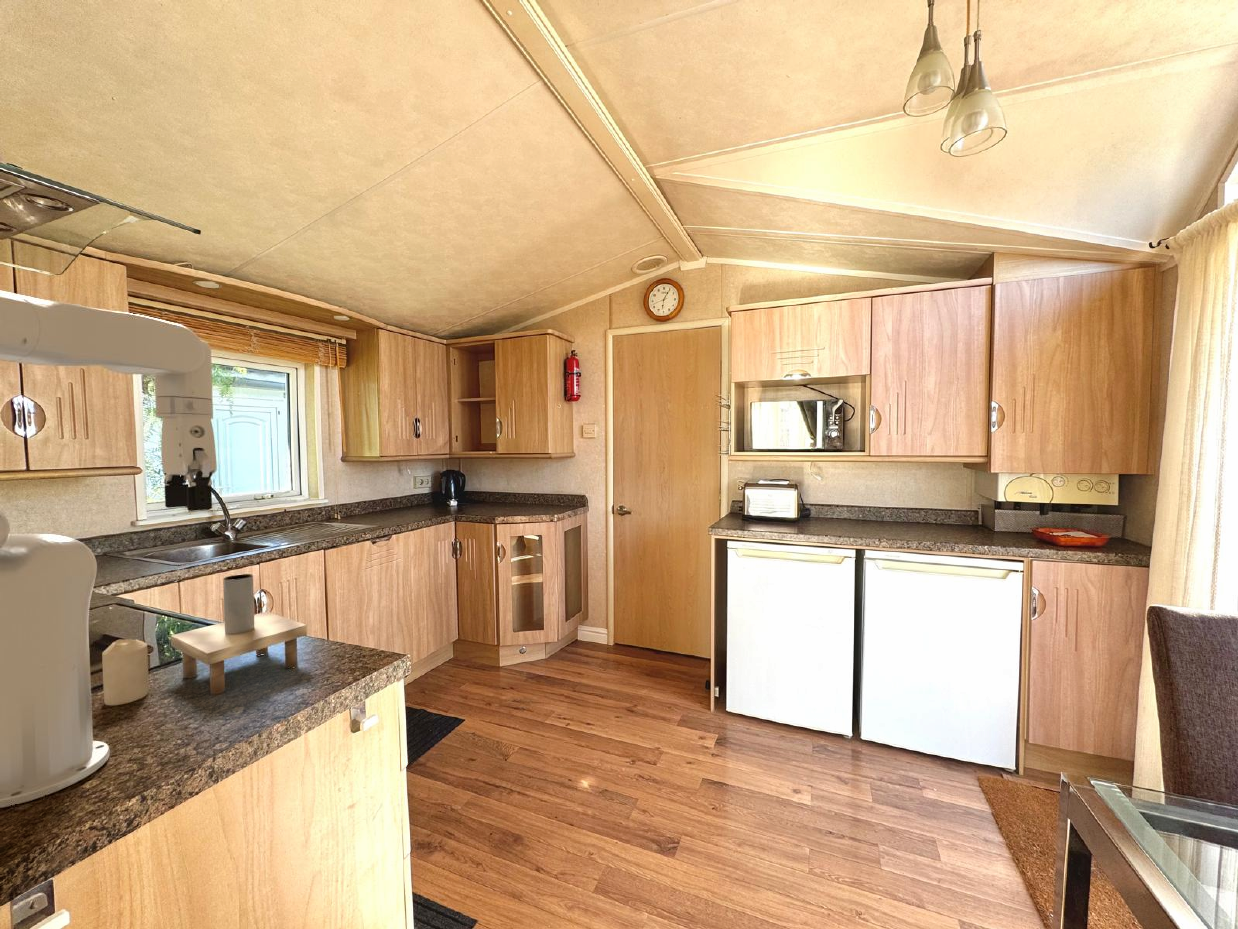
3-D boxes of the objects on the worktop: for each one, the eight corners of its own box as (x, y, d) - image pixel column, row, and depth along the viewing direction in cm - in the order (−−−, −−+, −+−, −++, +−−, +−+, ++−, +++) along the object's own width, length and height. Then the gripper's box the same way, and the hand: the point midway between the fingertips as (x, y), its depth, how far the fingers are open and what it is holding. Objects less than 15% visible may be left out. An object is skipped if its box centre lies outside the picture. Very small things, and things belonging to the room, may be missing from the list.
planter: (247, 624, 100) (246, 572, 99) (259, 628, 97) (257, 575, 97) (220, 632, 96) (218, 577, 95) (231, 636, 93) (229, 581, 93)
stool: (208, 700, 86) (207, 653, 86) (172, 678, 94) (170, 635, 94) (307, 665, 99) (306, 625, 99) (268, 648, 108) (267, 611, 108)
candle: (157, 690, 90) (155, 634, 89) (128, 705, 84) (126, 646, 84) (125, 690, 89) (123, 634, 89) (94, 706, 84) (91, 647, 84)
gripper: (233, 408, 86) (236, 509, 87) (191, 413, 95) (194, 503, 96) (177, 405, 80) (180, 514, 80) (138, 410, 89) (142, 507, 89)
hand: (188, 508), depth 88 cm, fingers open, 9 cm apart
